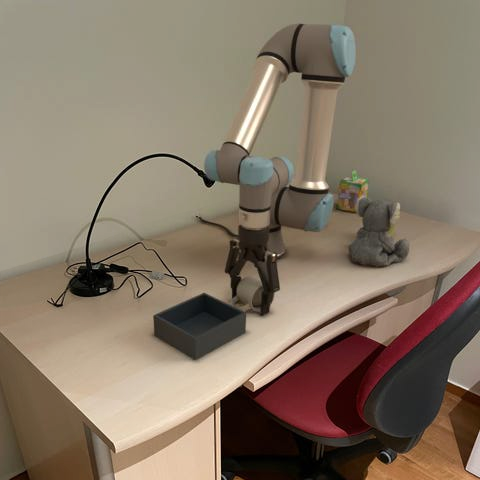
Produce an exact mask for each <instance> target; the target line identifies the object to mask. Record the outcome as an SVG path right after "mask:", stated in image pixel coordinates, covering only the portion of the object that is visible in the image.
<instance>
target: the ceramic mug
mask: <svg viewBox="0 0 480 480" xmlns="http://www.w3.org/2000/svg"><path fill="white" fill-rule="evenodd" d="M263 291H264V288H263V285H262V282H261V279H260V278H257V277H255V276H252V275H249V276H244V277H243V278H241V281H240V282H239V283H238V285H237V289H236V293H237V295H236V296H235V297H234V298H233V299H232V298H231V300H230V302H229V305H231V306H233V307H235V304H236V303H237V302H238V301H241V302H242V303H243V304H244V305H243V306H240V307H236V308H237V309H239V310H241V311H244V312H246V311H248V310H250V309H251V310H252V311H254V312H257V313H261V296H262V292H263ZM275 293H276V292H275ZM275 293H273V298H272V303H270V307H271V305H272V304H273V302H274V300H275Z"/></svg>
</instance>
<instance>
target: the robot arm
mask: <svg viewBox="0 0 480 480" xmlns="http://www.w3.org/2000/svg"><path fill="white" fill-rule="evenodd" d="M356 50H357V49H356V40H355V35H354V33H353V31H352V29H351V28H350V27H348V26H346V25H338V24H319V23H318V24H317V23H316V24H313V23H311V24H310V23H292V24H289V25H286V26H284V27H283V28H281V29H280V30H278V31H277V32H276V33H275V34H273V35H272V36H271V37H270V38H269V39H268V40H267V42H266V43H264V45H263V46H262V48H261V49H260V51H259V52H258V55H257V56H256V59H255V61H254V64H253V65H254V66H253V68H254V70H255V71H254V73H253V75H252V77H251V79H250V82H249V84H248V87H247V89H246V91H245V93H244V95H243V98H242V100H241V102H240V104H239V107H238V109H237V111H236V114H235V115H234V118H233V120H232V123H231V125H230V128H229V129H228V132H227V134H226V136H225V139H224V141H223V143H222V145H221V148H220V149H219V150H218V149H216V150H211V151H209V152H208V153H207V154H206V156H205V159H204V163H203V170H204V173H205V176H206V178H207V179H208V180H211V181H213V182H218V183H222V184H230V185H237V186H239V193H238V194H239V195H238V196H239V197H238V198H239V199H238V200H239V203H238V224H239V225H238V227H237V234H236V233H234V232H232V231H231V230H230V229H229V228H227V226H225V225H223V224H220V223H217V222H212V221H209V220H206V219H203V218H202V216H201V217H198V216H196V215H195V218H198V219H199V221H201V222H203V223H205V224H208V225H212V226H216V227H219V228H220V229H221V228H222V229H223V230H224V231H225V232H227V233H228V235H230V236H232V237H234V239H231V240H229V250H228V255H227V259H226V263H225V267H224V273H225V274H226V275H229V278H230V288H231V300H232V299H233V298H234V297H235V296H236V295H237V293H236V289H237V285H238V283H239V282H240V281H241V280H242V276H240V275H241V272H242V270H243V269H244V267H245V265H246V264H247V262H250V263H251V264H253V265H254V268H255V269H256V270H257V273H258V276H259V279H260V280H261V282H262V285H263V288H264V291H263V292H262V296H261V312H260V315H261V316H265V315H266V314H269V313H270V310H271V309H270V308H271V306H270V303H272V304H273V302H272V298H273V293H277V292H279V291H280V290H281V286H280V279H279V278H280V277H279V269H278V264H277V263H278V260H279V259H281V258H283V257H284V256H285V254H286V243H285V242H284V237H283V232H282V227H287V228H291V229H296V230H301V231H304V232H312V233H319V232H320V231H322V230H324V228H325V227H326V225H327V224H328V222H329V220H330V218H331V215H332V211H333V209H334V203H335V200H334V199H335V197H334V195H333V194H332V193H329V190H330V186H329V184H328V183H327V181H326V174H327V167H328V161H329V160H328V159H329V153H330V146H331V138H332V132H333V124H334V117H335V111H336V103H337V97H338V91H339V89H341V87H343V86H344V85H345V81H346V78H348V77H349V78H350V77H351V76H352V75H353V73H354V68H355V64H356V56H357V55H356ZM292 73H298V74H301V78H300V81H301V83H302V84H303V86H304V87H305V92H304V101H303V109H302V116H301V118H302V119H301V125H300V133H299V143H298V152H297V159H296V168H295V169H294V166H293V164H292V162H291V161H290V160H289V158H286V157H284V156H274V157H271V158H267V157H260V156H252V155H251V153H252V151H253V149H254V146H255V144H256V142H257V139H258V137H259V135H260V132H261V130H262V127H263V126H264V123H265V121H266V119H267V116H268V114H269V112H270V109H271V107H272V104H273V102H274V101H275V97H276V95H277V93H278V91H279V88H280V86H281V84H284V83H286V81H287V80H288V77H289V76H290V74H292ZM294 175H295V177H294Z"/></svg>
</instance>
